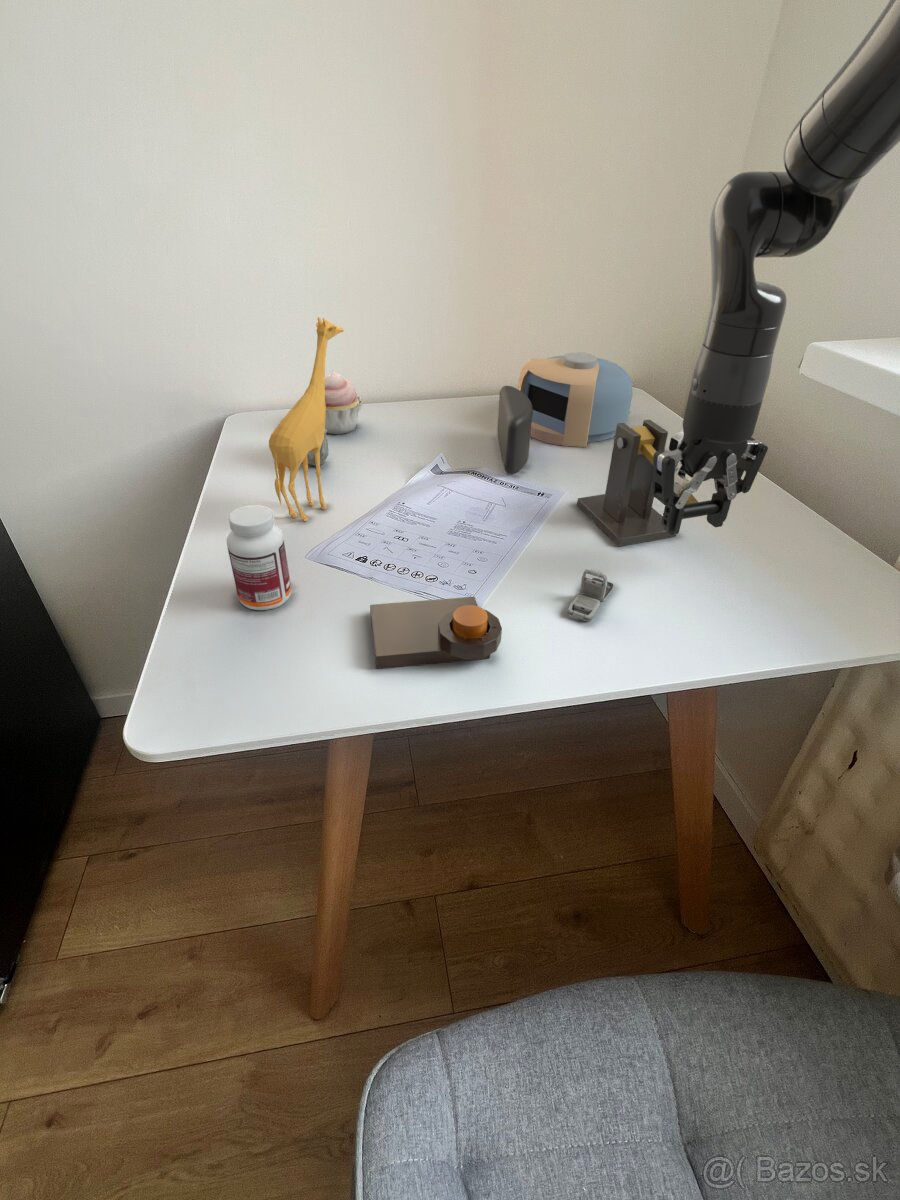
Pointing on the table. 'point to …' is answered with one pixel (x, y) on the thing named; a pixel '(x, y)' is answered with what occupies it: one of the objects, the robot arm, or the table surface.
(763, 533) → the table surface
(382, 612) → the switch block
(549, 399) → the alarm clock
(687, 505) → the lever handle
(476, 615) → the light button
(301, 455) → the giraffe
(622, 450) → the lever stand
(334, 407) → the cupcake
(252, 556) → the pill bottle
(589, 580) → the strap clip
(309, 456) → the stone
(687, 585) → the table surface
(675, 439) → the smartwatch
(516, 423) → the leaning round-cornered charcoal block
